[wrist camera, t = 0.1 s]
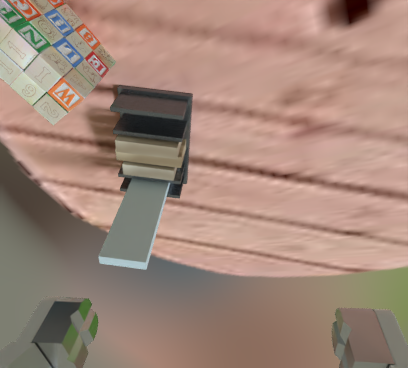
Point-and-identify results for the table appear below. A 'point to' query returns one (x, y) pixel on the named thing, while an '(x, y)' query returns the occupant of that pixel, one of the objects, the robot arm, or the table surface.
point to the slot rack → (155, 125)
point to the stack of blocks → (49, 55)
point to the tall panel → (135, 225)
